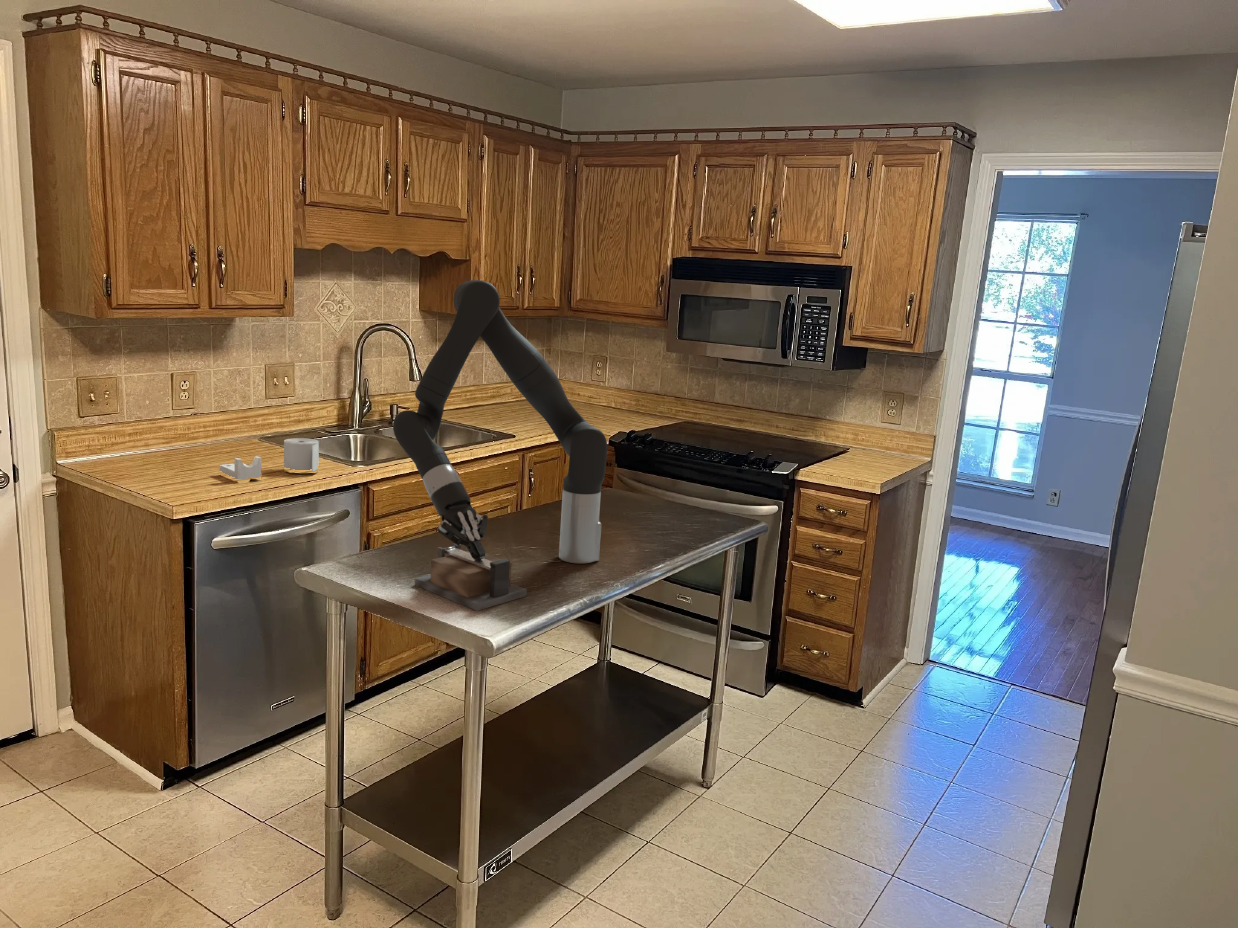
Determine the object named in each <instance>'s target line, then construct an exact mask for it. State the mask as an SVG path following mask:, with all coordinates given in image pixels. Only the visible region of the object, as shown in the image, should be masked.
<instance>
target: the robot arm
mask: <svg viewBox="0 0 1238 928" xmlns="http://www.w3.org/2000/svg"><path fill="white" fill-rule="evenodd" d="M500 305H501V299H500V294H499V292H498V290H497V288H496V287H495V286H494V284H492V283H491V282H488V281H485V280H481V279H480V280H479V279H475V280H474V279H472V280H466V281H464V282H462V283H461V284H459V285H458V286H457V287H456V288H455V291H454V293H453V306H454V308H455V311H456V314H455V317H454V320H453V323H452V325H451V327H450V329H449V331H448V333H447V335H446V336H445V339H444V340H443V342H442V343H441V345H440V347H439V348H438V350H437V351H435V354H434V355H433V356H432V358H431V360H430V361H429V363H428V365H427V366H426V369H425V370H424V372H423V375H422V377H421V379H420V380H419V383H418V385H417V387H416V390H415V392H414V393H415V394H414V396H415V398H416V399H417V401H419V402H418V408H417V411H413V410H409V409H407V410H403V411H400V412H399V413H397V415H396V416H395V417H394V419H393V423H392V431H393V434H394V436H395V439H396V441H397V442H398V443H399V445H400V446H401V448H402V450H403V451H404V452H405V453H406V455H407V456H408V458H410V460H412V462H413V463H414V465H415V467H416V469H417V472H418V473H419V475H420V478H421V480H422V482H423V484H424V487H425V490H426V492H427V494H428V497H429V498H430V500H431V502H432V504H433V507H434V508H435V510H436V512H437V514H438V516H440V517H441V521H442V522H441V524H440V525H439V526H438V527H437V528H436V532H438V533H439V534H441V535H442V536H444V538H447V539H448V540H449V541H451V542H452V543H453V544H456V545H458V546H459V545H461V546H464V547H465V548H467V551H469V552H470V554H471V556H472V558H473V559H474V560H475V561H478V560H482V559H483V558H484V557H485V554H487V553H486V550H485V548H484V545H483V544H482V542H481V540H482V539H483V538H484V537H485V536H486V534H487V533H486V532H487V526H488V520H489V517H488V515H487V514H483V515H481V514H478V513H477V511H476V509H475V508H474V507H473V506H472V505H471V503H472V502H471V497H470V495H469V494H468V492H467V490H466V488H465V486H464V484H463V482H462V480H461V478H460V475H459V474H458V472H457V471H456V470H455V468H454V467H453V465H452V462H451V461H450V459H449V458H448V457H449V456H448V455H447V453H446V452H445V449H443V447H442V446H441V445H439V444H437V443H436V442H435V441H434V440H435V439H436V437H437V435H438V433H439V430H440V426H441V423H442V418H443V414H444V409H445V404H446V402H447V400H448V398H449V396H450V394H451V393H452V390H453V388H454V386H455V385H456V382H457V380H458V379H459V378H458V377H459V376H460V374H461V371H462V370H463V367H464V365H465V363H466V361H467V359H468V358H469V355H470V353H471V352H472V350H473V349H474V346H475V345H476V344H477V342H478V340H479V339H480V338H481V339H482V342H484V343H485V345H487V347H488V349H489V350H490V352H491V353H492V355H493V357H494V358H495V359H496V361H497V363H498V364H499V365H500V366H501V369H502V370H503V371H504V373H505V374H506V375H507V377H508V378H509V380H510V381H511V382H512V384H513V385H514V386H515V387H516V389H517V390H518V391H519V392H520V394H521V395H522V396H523V398H524V399H525V400H526V401H527V402H528V404H530V405H531V407H532V408H533V409H534V410H535V411H536V412H537V413H538V414H539V415H540V416H541V417H542V418H543V419H544V421H546V423H547V424H548V426H549V428H550V429H551V430H552V432H553V433H554V435H555V436H556V438H557V440H558V441H559V443H560V445H561V447H562V448H563V450H564V452H565V454H567V455H568V456H569V459H568V460H569V461H568V469H567V470H568V471H567V474H566V476H565V477H564V478H563V483H562V494H561V495H562V496H561V497H562V499H561V500H562V501H561V517H560V531H559V534H560V535H559V544H558V545H559V546H558V558H559V559H560V560H561V561H564V562H566V563H570V564H571V563H572V564H590V563H593V562H598V561H599V560H600V550H601V549H600V547H601V536H602V534H601V533H602V523H601V521H600V508H601V496H602V492H601V491H602V485H603V482H604V480H605V476H606V475H605V474H606V469H607V468H606V467H607V459H608V441H607V437H606V435H605V434H604V433H603V431H601V429H599V428H597V427H595V426H593V425H592V424H590V423H589V422H588V421H587V420H586V419H585V418H584V417H583V416H582V415H581V414H580V413H579V412H578V410H576V408H575V407H574V406H573V404H572V403H571V402H570V401H569V399H568V397H567V394H566V393H565V391H564V388H563V385H562V383H561V381H560V380H559V377H558V375H557V374H556V372H555V371H554V370H553V368H552V367H551V365H550V364H549V363H548V361H547V360H546V359H545V357H544V356H543V354H541V352H540V351H539V350H538V349H537V348H536V347H535V346H534V345H533V344H532V343H531V342H530V341H529V340H528V339H527V338H526V337H525V336H523V335H522V333H520V332H519V331H518V330H517V329H516V328H515V327H514V326H513V325H512V324H511V322H510V321H509V320H508V319H507V317H506V316H505V315H504V313H503V311H502V309H501V308H500Z"/></svg>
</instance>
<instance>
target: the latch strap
mask: <svg viewBox="0 0 1238 928" xmlns="http://www.w3.org/2000/svg"><path fill="white" fill-rule="evenodd" d="M444 548H445V554H446V555H448V556H449V555H452V556H454V557H457V558H459V559H462V560H464V561H467V562H470V563H472V564H475V565H477V566H480V567H482V568H485V569H488V570H491V566H490V562H492V561H489V560H487V559H484V558H483V559H482V560H478V561H475V560H474V559H473V558H472V556H471V554H470V553H468V552H467V551H465V550H462V549H461V550H460V549H458V548H456V547H455V546H453V545H452V546H448V547H444Z"/></svg>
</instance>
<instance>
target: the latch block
mask: <svg viewBox="0 0 1238 928" xmlns="http://www.w3.org/2000/svg"><path fill="white" fill-rule="evenodd" d="M452 546H455V547H456V548H458V549H460V550H462V549H461V548H462V545H459V546H458V545H456V544H455V543H453V544H452ZM445 548H446V547H442V546H439V547H437V549H436V557H435V558H434V559H433V558H432V559H431V560H430V574H427V575H423V576H419V577H415V578H414V585H415V586H416V587H419V588H422V589H424V590H426V591H428V592H431V593H434V594H435V595H438V596H440V597H443V598H445V599H448V600H450V601H452V602H455V603H457V604H459V605H462V606H464V607H465V608H468V609H471V610H473V611H476V612H477V611H481V610H484V609H487V608H491V607H494V606H497V605H501V604H504V603H507V602H512V601H514V600H517V599H521V598H525V597H527V593H528V592H527V591H528V589H527V588H524V587H522V586H519V585H516V584H514V583H512V581H511V580H512V579H511V578H512V565H513V564H512V563H513V562H511V560H509V559H506V558H499V557H496V556H493V555H490V554H488V553H486V554H485V557H484V559H487V560H489V561H492V562H490V566H491V570H488V569H485V568H482V567H480V566H477V565H475V564H472V563H470V562H467V561H464V560H462V559H459V558H457V557H454V556H452V555H449V554H448V555H445V554H446V553H445ZM466 552H468V553H470V552H469V551H468V550H467V551H466Z"/></svg>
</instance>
